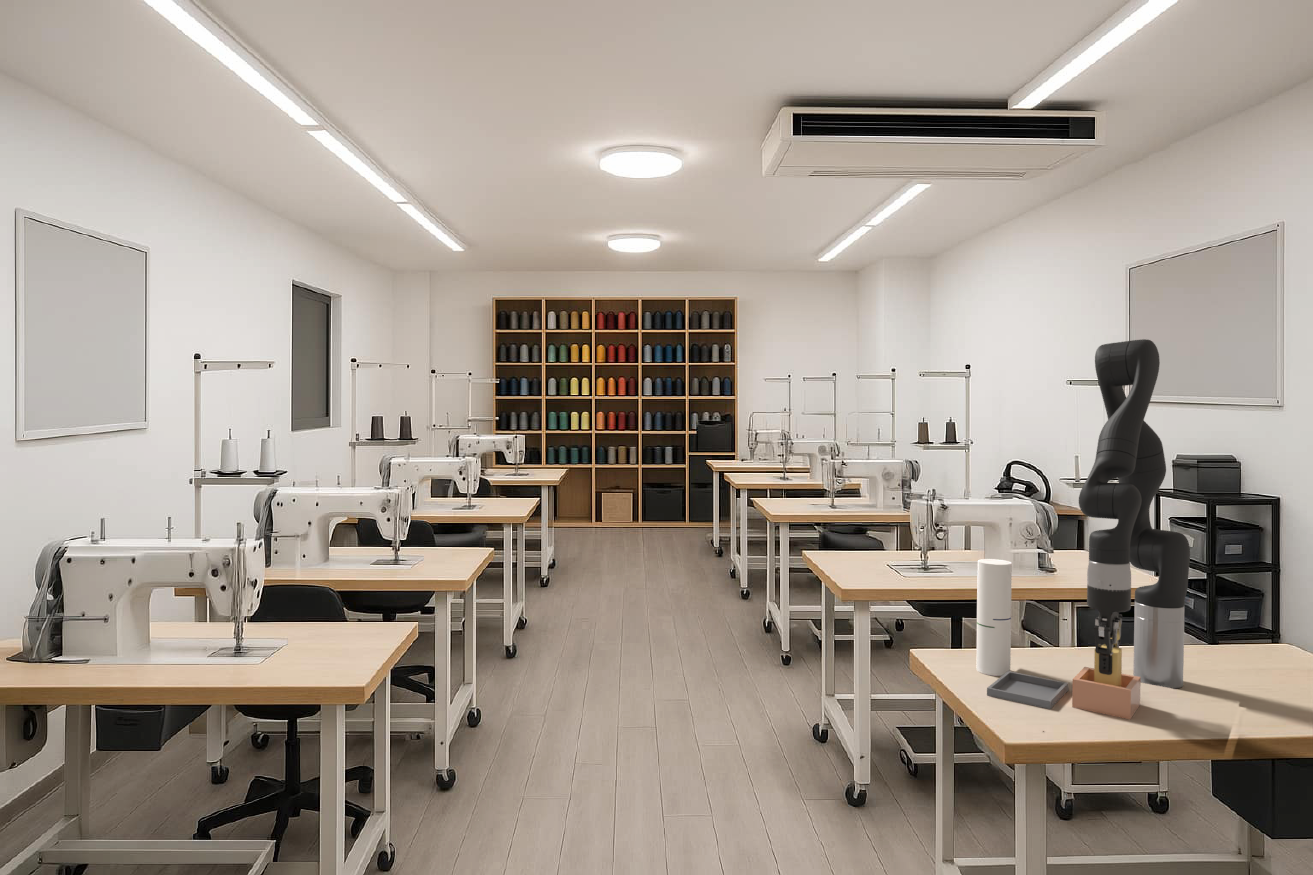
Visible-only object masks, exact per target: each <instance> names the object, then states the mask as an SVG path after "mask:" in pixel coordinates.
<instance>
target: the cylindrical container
mask: <svg viewBox="0 0 1313 875" xmlns="http://www.w3.org/2000/svg"><path fill="white" fill-rule="evenodd" d="M1012 564H1013V562H1012V561H1009V560H1005V559H998V558H981V559H980V558H979V559H978V560H977V573H976V574H977V578H976V579H977V580H976V581H977V582H976V585H977V586H976V588H977V589H976V590H977V592H976V655H975V656H976V660H975V661H976V664H975V665H976V668H975V670H976V671H977V672H978V673H981V674H982V675H983V674H984V675H988V676H994V677H1001V676H1003V675H1004V674H1005V673H1006V672H1008V671H1011V662H1012V661H1011V658H1012V657H1011V655H1012V653H1011V651H1012V650H1011V648H1012V647H1011V646H1012V635H1011V634H1012V570H1013V569H1012V568H1013V567H1012Z"/></svg>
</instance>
